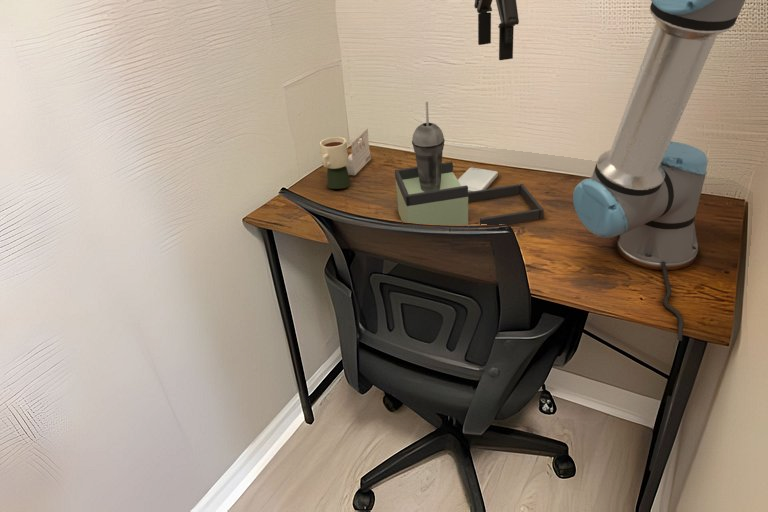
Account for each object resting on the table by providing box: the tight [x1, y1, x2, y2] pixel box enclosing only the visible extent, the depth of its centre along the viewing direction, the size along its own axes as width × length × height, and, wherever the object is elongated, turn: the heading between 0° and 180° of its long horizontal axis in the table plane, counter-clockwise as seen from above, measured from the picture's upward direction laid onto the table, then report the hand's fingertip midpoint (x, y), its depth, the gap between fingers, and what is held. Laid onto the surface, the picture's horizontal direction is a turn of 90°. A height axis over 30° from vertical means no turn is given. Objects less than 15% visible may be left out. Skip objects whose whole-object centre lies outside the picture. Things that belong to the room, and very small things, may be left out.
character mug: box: [319, 136, 351, 190], centre depth 158 cm, size 11×7×13 cm, turn 152°
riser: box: [394, 161, 545, 226], centre depth 140 cm, size 14×32×12 cm, turn 99°
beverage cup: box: [411, 101, 445, 192], centre depth 131 cm, size 7×7×20 cm
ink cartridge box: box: [346, 128, 372, 177], centre depth 168 cm, size 2×11×10 cm, turn 157°
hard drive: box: [457, 166, 499, 192], centre depth 155 cm, size 2×8×12 cm
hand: (494, 51), depth 128 cm, fingers open, 13 cm apart
